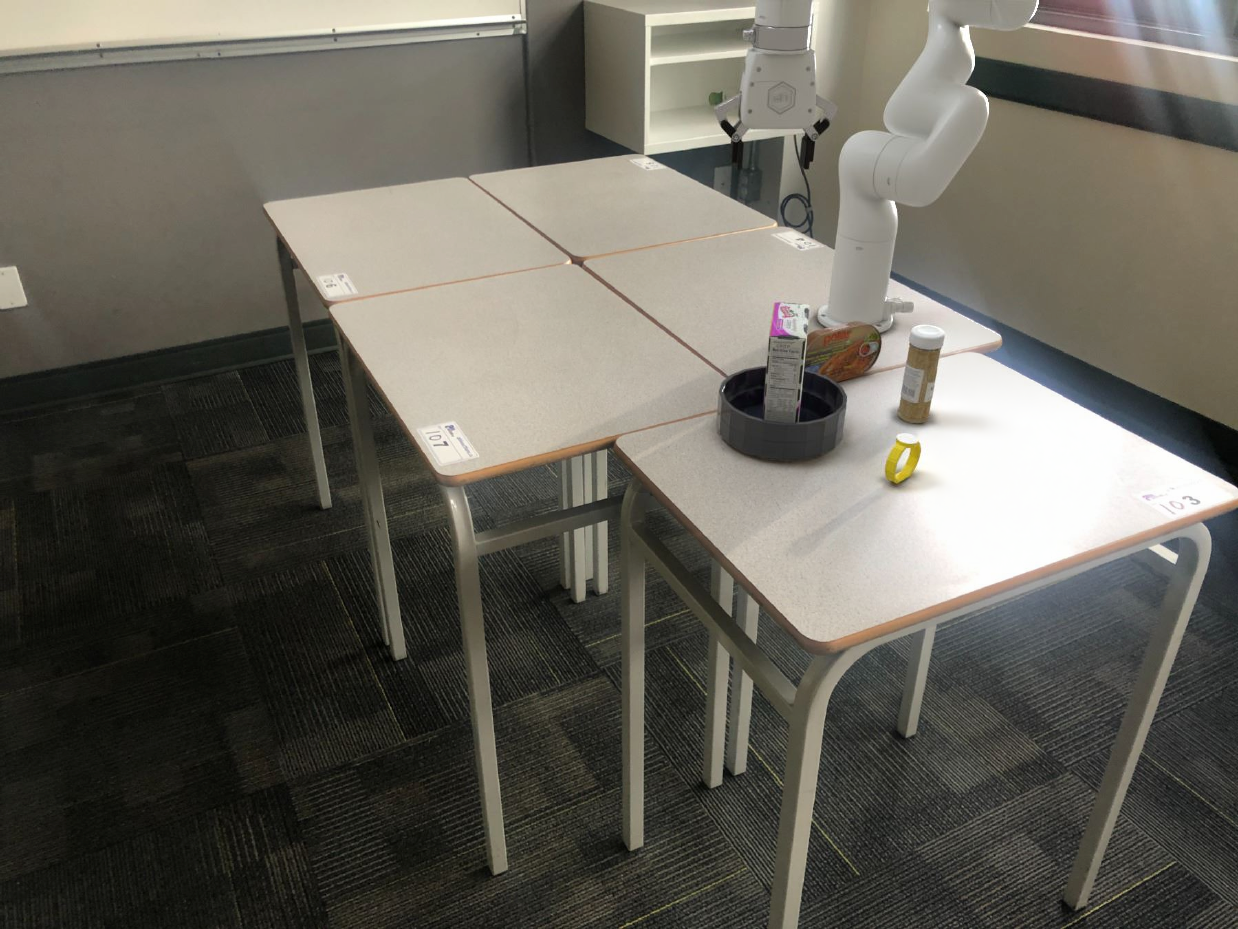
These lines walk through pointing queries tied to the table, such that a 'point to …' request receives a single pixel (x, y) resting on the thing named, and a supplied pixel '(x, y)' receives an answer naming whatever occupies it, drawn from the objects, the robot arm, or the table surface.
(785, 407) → the candy bar box
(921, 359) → the spice jar
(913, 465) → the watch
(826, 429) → the bowl
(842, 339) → the tin
